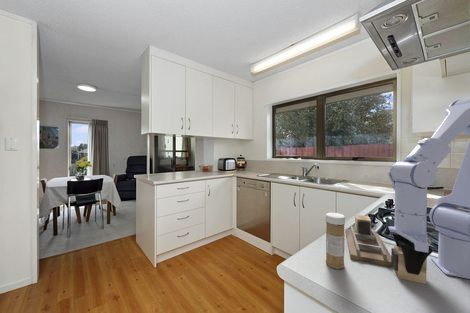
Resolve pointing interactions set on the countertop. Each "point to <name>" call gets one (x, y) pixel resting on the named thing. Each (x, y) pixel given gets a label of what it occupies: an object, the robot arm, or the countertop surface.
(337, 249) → the sprinkles bottle
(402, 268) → the block
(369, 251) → the rail board
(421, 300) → the countertop surface
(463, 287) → the countertop surface
